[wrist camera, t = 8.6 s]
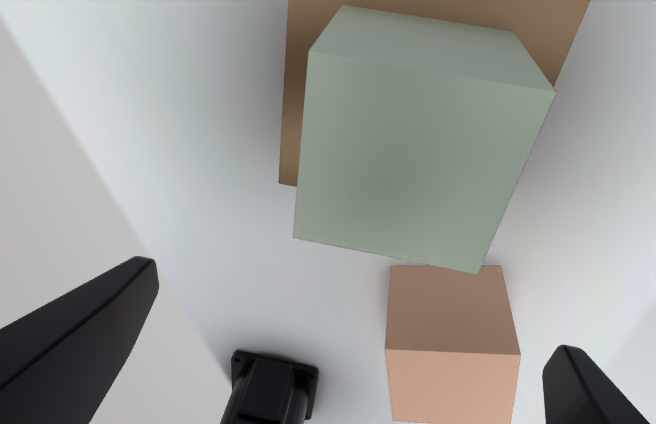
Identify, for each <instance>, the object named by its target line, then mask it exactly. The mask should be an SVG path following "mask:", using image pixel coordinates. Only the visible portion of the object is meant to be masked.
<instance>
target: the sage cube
mask: <svg viewBox="0 0 656 424" xmlns="http://www.w3.org/2000/svg"><path fill="white" fill-rule="evenodd" d="M555 95H556V91H555V89H554V88H553V87H552V85H551V84H550V82H549V81H548V80H547V78H546V77H545V75H544V74H543V73H542V71H541V70H540V68H539V67H538V66H537V64H536V63H535V61H534V60H533V59H532V57H531V56H530V54H529V53H528V52H527V50H526V49H525V47H524V46H523V45H522V43H521V42H520V40H519V39H518V38H517V36H516V35H515V33H514V32H513V31H507V30H500V29H494V28H488V27H481V26H475V25H469V24H462V23H456V22H450V21H444V20H437V19H431V18H425V17H418V16H412V15H406V14H399V13H393V12H387V11H380V10H374V9H368V8H361V7H355V6H349V5H342V6H341V8H340V9H339V10H338V12H337V13H336V14H335V16H334V17H333V18H332V20H331V21H330V23H329V24H328V25H327V27H326V28H325V29H324V31H323V32H322V33H321V35H320V36H319V38H318V39H317V40H316V42H315V43H314V44H313V46H312V47H311V48H310V50H309V53H308V65H307V77H306V89H305V100H304V112H303V124H302V136H301V147H300V159H299V171H298V183H297V194H296V206H295V218H294V230H293V238H296V239H301V240H306V241H311V242H316V243H321V244H326V245H331V246H336V247H341V248H346V249H352V250H357V251H362V252H367V253H372V254H377V255H382V256H387V257H392V258H397V259H402V260H407V261H412V262H417V263H422V264H428V265H433V266H438V267H443V268H448V269H453V270H458V271H463V272H468V273H473V274H478V272H479V270H480V268H481V265H482V263H483V261H484V258H485V256H486V254H487V251H488V249H489V247H490V245H491V242H492V240H493V238H494V235H495V233H496V231H497V228H498V226H499V224H500V221H501V219H502V217H503V215H504V212H505V210H506V208H507V205H508V203H509V201H510V198H511V196H512V194H513V191H514V189H515V187H516V185H517V182H518V180H519V178H520V175H521V173H522V171H523V168H524V166H525V164H526V162H527V159H528V157H529V155H530V152H531V150H532V148H533V145H534V143H535V141H536V138H537V136H538V134H539V132H540V129H541V127H542V125H543V122H544V120H545V118H546V115H547V113H548V111H549V108H550V106H551V104H552V102H553V99H554V97H555Z"/></svg>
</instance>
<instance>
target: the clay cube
mask: <svg viewBox="0 0 656 424" xmlns="http://www.w3.org/2000/svg"><path fill="white" fill-rule="evenodd" d="M385 356H386V365H387V374H388V383H389V392H390V400H391V409H392V418H393V421H402V422H415V423H427V424H511V418H512V412H513V405H514V398H515V392H516V385H517V378H518V372H519V365H520V358H521V353H520V349H519V344H518V340H517V335H516V331H515V326H514V322H513V318H512V313H511V309H510V304H509V300H508V295H507V291H506V286H505V282H504V277H503V273H502V268H501V266H481V268H480V270H479V272H478V274H473V273H468V272H463V271H458V270H453V269H448V268H443V267H438V266H391V274H390V287H389V300H388V313H387V326H386V339H385Z"/></svg>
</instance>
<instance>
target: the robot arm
mask: <svg viewBox="0 0 656 424" xmlns="http://www.w3.org/2000/svg"><path fill="white" fill-rule="evenodd" d="M158 290H159V281H158V274H157V267H156V262H155V261H154V260H153V259H151V258H146V257H141V256H135V257H133V258H131V259H129V260H127V261H125V262H124V263H121V264H120V265H118V266H116V267H114V268H112V269H110V270H109V271H107V272H105V273H103V274H101V275H99V276H97V277H96V278H94V279H92V280H90V281H88V282H87V283H84V284H83V285H81V286H79V287H77V288H75V289H73V290H72V291H70V292H68V293H66V294H64V295H63V296H60V297H59V298H57V299H55V300H53V301H51V302H49V303H48V304H46V305H44V306H42V307H40V308H38V309H36V310H35V311H33V312H31V313H29V314H27V315H25V316H24V317H22V318H20V319H18V320H16V321H14V322H13V323H11V324H9V325H7V326H5V327H3V328H1V329H0V424H89V422H90V421H91V419H92V417H93V416H94V414H95V412H96V410H97V409H98V407H99V406H100V404H101V402H102V401H103V399H104V397H105V396H106V394H107V392H108V390H109V389H110V387H111V385H112V384H113V382H114V380H115V379H116V377H117V375H118V374H119V372H120V370H121V369H122V367H123V365H124V364H125V362H126V360H127V358H128V356H129V355H130V353H131V350H132V349H133V347H134V345H135V342H136V340H137V338H138V336H139V334H140V331H141V329H142V327H143V325H144V323H145V320H146V318H147V316H148V314H149V312H150V309H151V307H152V305H153V303H154V300H155V298H156V296H157V294H158ZM231 366H232V394H231V396H230V399H229V401H228V404H227V407H226V409H225V412H224V414H223V417H222V420H221V422H220V424H303V423H304V420H309V419H311V416H312V410H313V404H314V399H315V393H316V387H317V381H318V375H319V371H318V370H317V369H315V368H312V367H308V366H303V365H299V364H294V363H289V362H285V361H280V360H276V359H271V358H267V357H262V356H257V355H253V354H248V353H244V352H238V351H237V352H234V353H233V356H232V358H231ZM542 379H543V392H544V405H545V418H546V424H650V423H649V422H648V421H647V420H646V419H645V418H644V417H643V415H642V414H641V413H640V412H639V411H638V410H637V409H636V408H635V407H634V406H633V405H632V403H631V402H630V401H629V400H628V399H627V398H626V397H625V396H624V394H623V393H622V392H621V391H620V390H619V389H618V388H617V387H616V386H615V385H614V383H613V382H612V381H611V380H610V379H609V378H608V377H607V376H606V375H605V373H604V372H603V371H602V370H601V369H600V368H599V367H598V366H597V365H596V364H595V362H594V361H593V360H592V359H591V358H590V357H589V356H588V355H587V354H586V352H585V351H583V350H582V349H580V348H578V347H573V346H568V345H560V346H558V347H557V349H556V350H555V352H554V353H553V355H552V356H551V358H550V359H549V361H548V362H547V364H546V365H545V367H544V369H543V375H542Z"/></svg>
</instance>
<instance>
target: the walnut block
mask: <svg viewBox="0 0 656 424" xmlns="http://www.w3.org/2000/svg"><path fill="white" fill-rule="evenodd" d="M589 2H590V0H289V3H288V21H287V39H286V57H285V75H284V93H283V111H282V130H281V148H280V166H279V183H280V184H285V185H290V186H295V187H297V183H298V171H299V159H300V147H301V136H302V124H303V112H304V100H305V89H306V77H307V65H308V53H309V50H310V48H311V47H312V46H313V44H314V43H315V42H316V40H317V39H318V38H319V36H320V35H321V33H322V32H323V31H324V29H325V28H326V27H327V25H328V24H329V23H330V21H331V20H332V18H333V17H334V16H335V14H336V13H337V12H338V10H339V9H340V8H341V6H342V5H349V6H355V7H361V8H368V9H374V10H380V11H387V12H393V13H399V14H406V15H412V16H418V17H425V18H431V19H437V20H444V21H450V22H456V23H462V24H469V25H475V26H481V27H488V28H494V29H500V30H507V31H513V32H514V33H515V35H516V36H517V38H518V39H519V40H520V42H521V43H522V45H523V46H524V47H525V49H526V50H527V52H528V53H529V54H530V56H531V57H532V59H533V60H534V61H535V63H536V64H537V66H538V67H539V68H540V70H541V71H542V73H543V74H544V75H545V77H546V78H547V80H548V81H549V82H550V84H551V85H552V87H554V84H555V82H556V80H557V77H558V75H559V73H560V70H561V68H562V66H563V63H564V61H565V58H566V56H567V54H568V51H569V49H570V47H571V44H572V42H573V40H574V37H575V35H576V33H577V30H578V28H579V26H580V23H581V21H582V19H583V16H584V14H585V12H586V9H587V7H588V5H589Z"/></svg>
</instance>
